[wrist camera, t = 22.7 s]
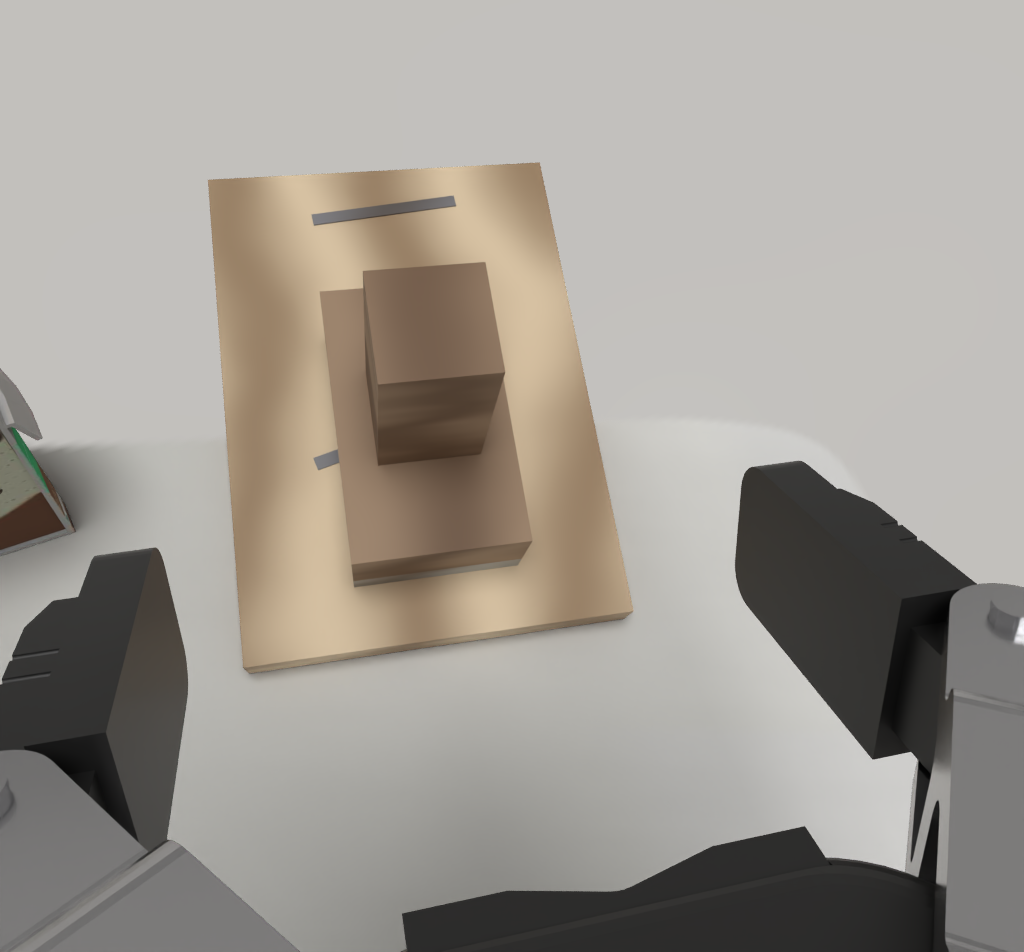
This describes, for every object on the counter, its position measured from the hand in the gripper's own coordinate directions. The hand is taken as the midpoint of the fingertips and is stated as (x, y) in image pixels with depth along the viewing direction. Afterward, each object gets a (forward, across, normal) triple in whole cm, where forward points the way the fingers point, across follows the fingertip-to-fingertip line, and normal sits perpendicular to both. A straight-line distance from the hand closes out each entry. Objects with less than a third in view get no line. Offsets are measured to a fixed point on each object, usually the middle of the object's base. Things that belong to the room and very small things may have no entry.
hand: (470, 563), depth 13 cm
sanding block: (+21, -1, +8) cm, 22 cm away
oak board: (+24, -2, +7) cm, 25 cm away
